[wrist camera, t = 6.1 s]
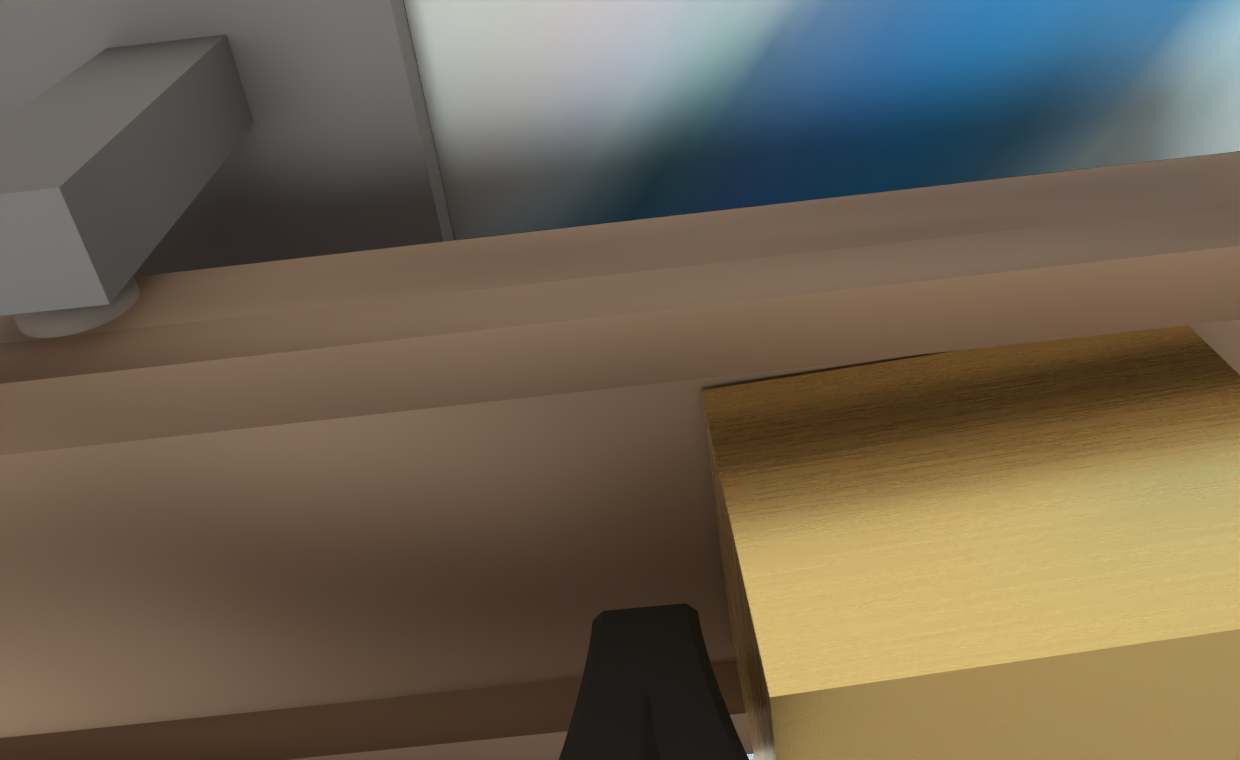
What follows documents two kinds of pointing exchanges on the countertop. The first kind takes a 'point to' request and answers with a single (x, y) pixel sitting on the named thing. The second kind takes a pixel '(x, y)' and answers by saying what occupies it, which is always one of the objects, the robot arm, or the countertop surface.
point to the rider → (987, 553)
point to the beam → (486, 449)
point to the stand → (204, 140)
